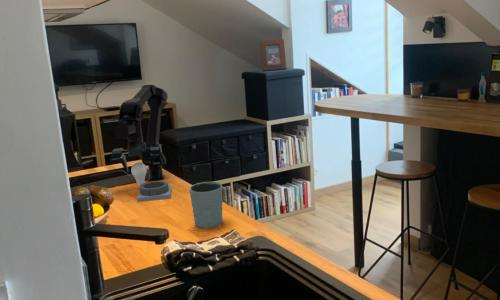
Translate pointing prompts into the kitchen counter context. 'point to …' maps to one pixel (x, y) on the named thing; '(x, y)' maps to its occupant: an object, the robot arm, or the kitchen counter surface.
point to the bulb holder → (154, 191)
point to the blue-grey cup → (207, 204)
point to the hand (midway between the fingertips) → (139, 172)
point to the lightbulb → (139, 172)
